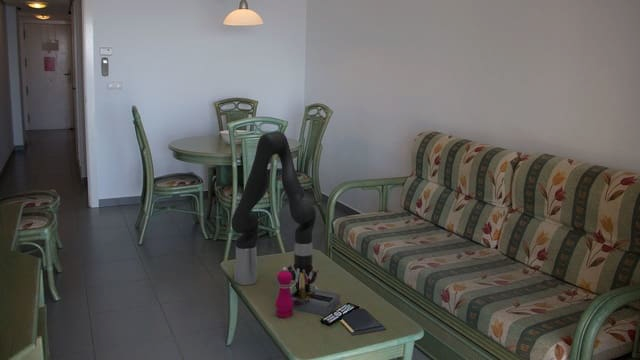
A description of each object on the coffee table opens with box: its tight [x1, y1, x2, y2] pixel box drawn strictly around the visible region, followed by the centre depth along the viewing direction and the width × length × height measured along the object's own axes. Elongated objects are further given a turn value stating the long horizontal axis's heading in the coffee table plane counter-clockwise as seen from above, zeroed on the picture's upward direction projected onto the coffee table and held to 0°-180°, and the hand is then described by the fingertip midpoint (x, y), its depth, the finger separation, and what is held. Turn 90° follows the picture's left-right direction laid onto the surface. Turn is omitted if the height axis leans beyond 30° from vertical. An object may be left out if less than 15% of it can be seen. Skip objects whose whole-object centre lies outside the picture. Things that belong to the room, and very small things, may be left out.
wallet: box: [340, 307, 387, 337], centre depth 221 cm, size 20×2×15 cm
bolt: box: [295, 272, 310, 300], centre depth 235 cm, size 6×6×14 cm
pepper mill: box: [274, 266, 293, 319], centre depth 223 cm, size 7×7×20 cm
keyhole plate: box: [290, 287, 341, 317], centre depth 234 cm, size 19×14×4 cm
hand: (302, 290), depth 235 cm, fingers closed on bolt, 3 cm apart
